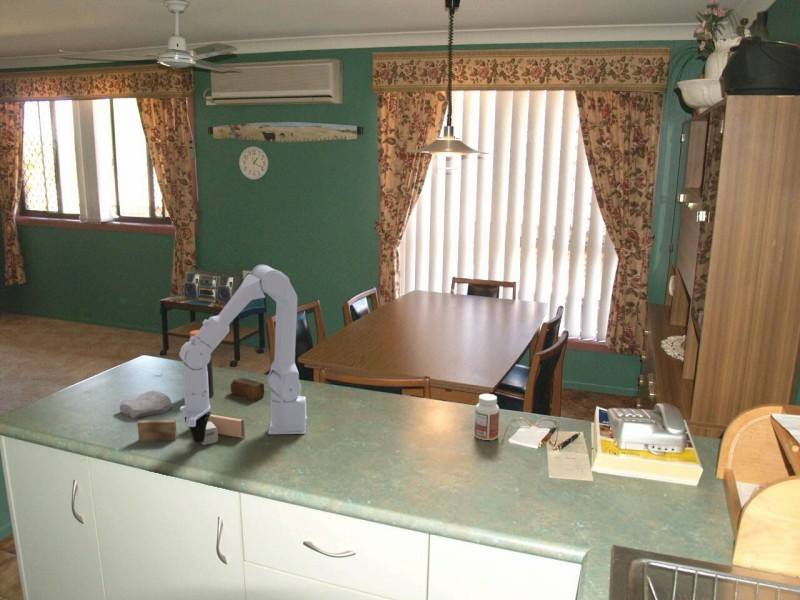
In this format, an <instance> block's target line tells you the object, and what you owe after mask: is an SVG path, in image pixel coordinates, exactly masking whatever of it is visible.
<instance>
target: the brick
mask: <svg viewBox="0 0 800 600" xmlns="http://www.w3.org/2000/svg"><path fill="white" fill-rule="evenodd" d="M230 393H232V394H234V395H235V394H236V395H235V396H238V395H239V397H241V396H242V397H241V398H244V397H246V398H245V399H247V398H249V399H248V400H251V401H254V402H255V401H259V400H261V399H263V398H264V395H265V384H264V383H263V382H259V381H256V380H253V379H249V378H246V377H239V378H235V379H233V380H232V382H231V384H230ZM258 399H259V400H258Z"/></svg>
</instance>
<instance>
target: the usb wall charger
mask: <svg viewBox="0 0 800 600" xmlns="http://www.w3.org/2000/svg"><path fill="white" fill-rule="evenodd" d="M218 440H219V436H218V432H217V428H216V427H215V426H214V424H213V423H212V422H207V426H206V432H205V438H204V442H200V443H201V444H202V445H209V444H214V443H216V442H218Z"/></svg>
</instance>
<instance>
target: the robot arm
mask: <svg viewBox="0 0 800 600" xmlns="http://www.w3.org/2000/svg"><path fill="white" fill-rule="evenodd" d="M264 293H265V294H267V295H268V296H269V297H270V298H271V299H272V300H273V301H275V302H276V303H275V305H276V307H275V308H276V309H275V329H274V330H275V331H274V332H275V333H274V335H275V336H274V355H273V356H274V360H273V361H272V363H271V365H270V371H269V373H268V375H267V377H266V384H267V386H268V388H269V389H270V390H271V392H270V398H269V399H270V425H269V428H268V432H267V434H268V435H297V434H298V435H302V434H303V435H304V434H305V433H306V430H307V429H306V428H307V424H308V416H307V397H306V396H302V395H300V394H301V393H302V389H303V388H302V384H301V381H300V374H299V370H298V368H297V365H296V344H297V343H296V342H297V341H296V340H297V321H298V320H297V318H298V295H297V293H296V291H295V288H294V286H292V284H291V282H290V278H289V277H288V275H286V274H284V272H282V271H280V270H277V269H275V268H272V267H270V266H269V265H267V264H258V265H256V266H254V267H253V269H252V270H251V271H250V273H248V274H247V275H246V277H244V279H243V281H242V283H241V284H240V286H239V287H238V289H237V290H236V291H235V292H234V294H233V295H232V297H231V298H230V299H229V300H228V301H227V303H226V304H225V306H223V308H222V310H221V311H220V312H219V313H218V315H213V316H210V317H209V318H208V319H206V318H205V319H204V320H203V321H202V323H201V324H202V326H201V327H200V328H199V329H198V330H199V331H198V332H197V333H196V335H195V336H194V337H193V336H192V337H191V338H190V337H189V341H186V342H184V344H183V345H182V346H181V347H180V351H179V352H178V355H179V358H180V360H182V369H183V372H182V378H183V379H182V380H183V395H184V397H183V398H184V405H181V406H180V408H179V412H183V413H184V415H185V417H184V423H186V424H185V426H186V428H188V427H189V428H188V429H189V430H190V432H191V435H192V436H191V437H192V439H193V441H194V443H198V444H199V443H201V442H204V438H205V432H206V426H207V422H208V419H209V417H210V415H212V412H211V404H210V398H209V386H208V371H207V364H208V363H209V362H210V358H211V352H212V353H213V352H214V350H216V348H217V347H218V346H219V344H220V343H221V342H222V341H223V340H224V338H225V337H226V336H227V335H228V334H229V332H230V324H231V323H232V322H233V321H234V319H236V317H237V316H238V315H239V314H240V313H241V312H242V311H243V310H244V309H245V308H246V307H247V305H248V304H249V303H250V302H251V301H253V300H254V301H255V300H258V299H265V298H266V296H265V294H264Z"/></svg>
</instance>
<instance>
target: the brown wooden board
mask: <svg viewBox="0 0 800 600" xmlns="http://www.w3.org/2000/svg"><path fill="white" fill-rule="evenodd" d="M137 431H138V433H137V434H138V441H139V442H154V441H155V442H157V441H158V442H159V441H160V442H161V441H163V442H164V441H166V442H167V441H177V438H178V436H177V435H178V434H177V433H178V432H177V420H176V419H172V420H171V419H164V420H163V419H158V420H157V419H156V420H138V421H137Z"/></svg>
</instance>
